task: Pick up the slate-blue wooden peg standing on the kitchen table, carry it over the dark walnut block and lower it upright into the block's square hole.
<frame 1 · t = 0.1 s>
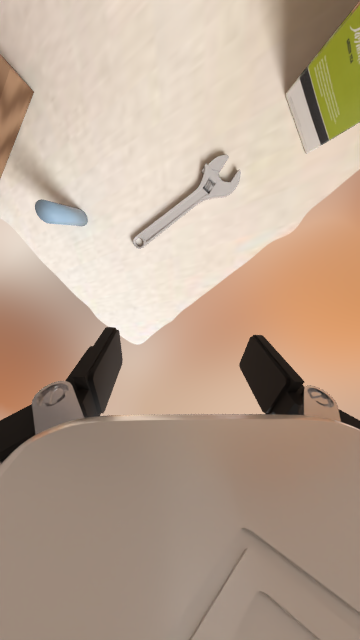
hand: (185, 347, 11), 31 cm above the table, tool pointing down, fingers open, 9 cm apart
adjustable wrench: (180, 206, 32), on the table
peg: (79, 217, 32), on the table
tea box: (335, 83, 25), on the table
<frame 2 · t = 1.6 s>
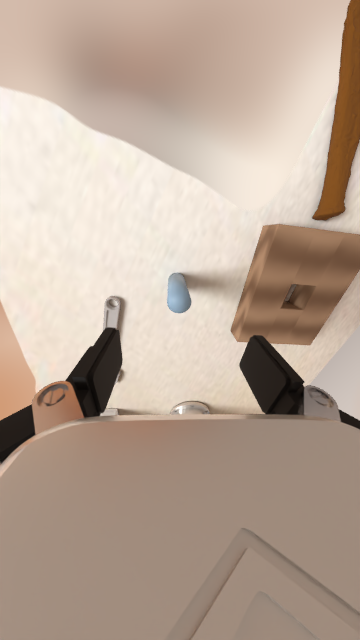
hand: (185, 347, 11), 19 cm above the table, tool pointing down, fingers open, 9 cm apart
adjustable wrench: (113, 346, 35), on the table
peg: (176, 281, 28), on the table
primitive tool: (335, 131, 20), on the table
hole block: (282, 290, 30), on the table
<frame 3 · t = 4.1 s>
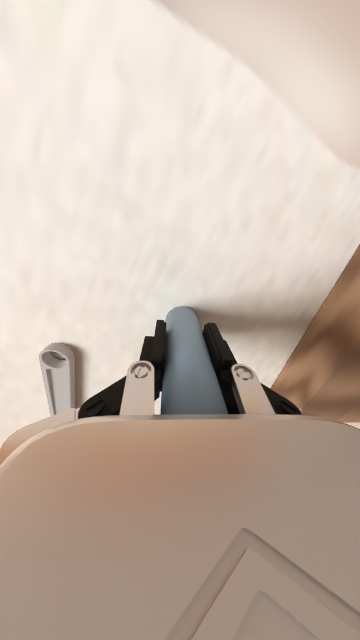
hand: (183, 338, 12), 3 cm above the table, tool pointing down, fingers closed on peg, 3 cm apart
adjustable wrench: (74, 410, 21), on the table
peg: (181, 320, 14), on the table, touching gripper
when the fingers open (5 cm above the table, at t = 10.4 s): peg drops 2 cm, resting in hole block.
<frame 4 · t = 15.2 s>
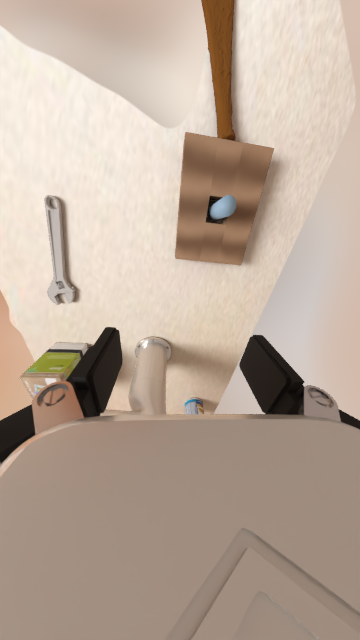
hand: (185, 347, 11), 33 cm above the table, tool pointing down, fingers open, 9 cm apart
adjustable wrench: (64, 259, 38), on the table
blue-capped supplement jar: (193, 402, 71), on the table
peg: (213, 212, 34), resting in hole block
primitive tool: (217, 68, 25), on the table
tea box: (77, 357, 54), on the table
hole block: (213, 213, 34), on the table
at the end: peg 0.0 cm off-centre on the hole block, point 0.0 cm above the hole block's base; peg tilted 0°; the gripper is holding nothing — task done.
